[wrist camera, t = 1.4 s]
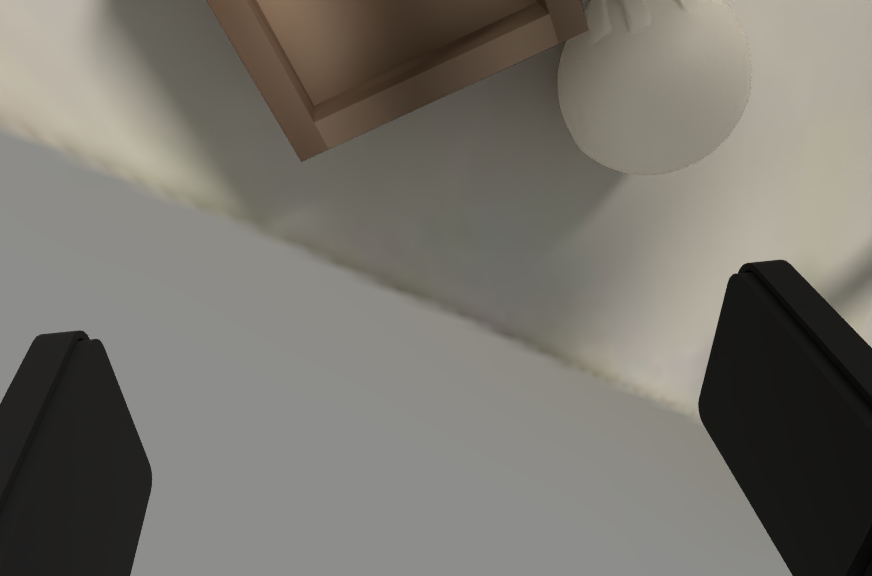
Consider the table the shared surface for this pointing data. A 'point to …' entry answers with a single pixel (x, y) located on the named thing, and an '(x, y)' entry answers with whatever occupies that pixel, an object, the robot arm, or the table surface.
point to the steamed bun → (654, 82)
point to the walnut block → (380, 55)
